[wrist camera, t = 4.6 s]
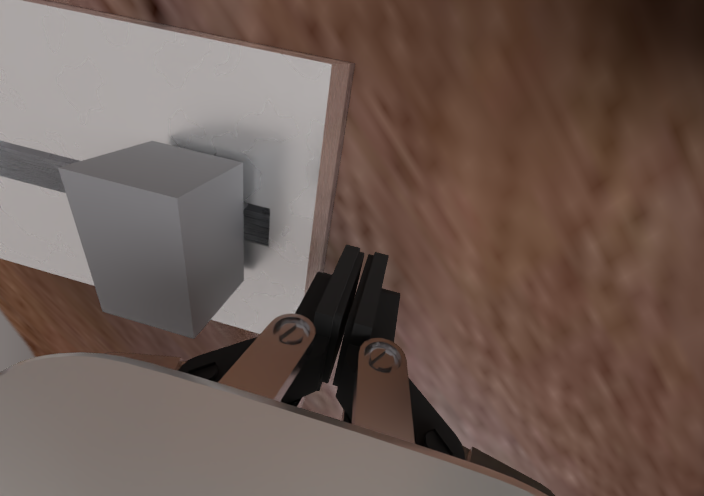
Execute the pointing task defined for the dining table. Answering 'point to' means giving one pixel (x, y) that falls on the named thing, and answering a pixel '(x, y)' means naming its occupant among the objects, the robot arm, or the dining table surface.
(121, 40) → the console
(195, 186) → the fader
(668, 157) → the dining table surface
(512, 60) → the dining table surface
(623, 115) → the dining table surface
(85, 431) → the robot arm
